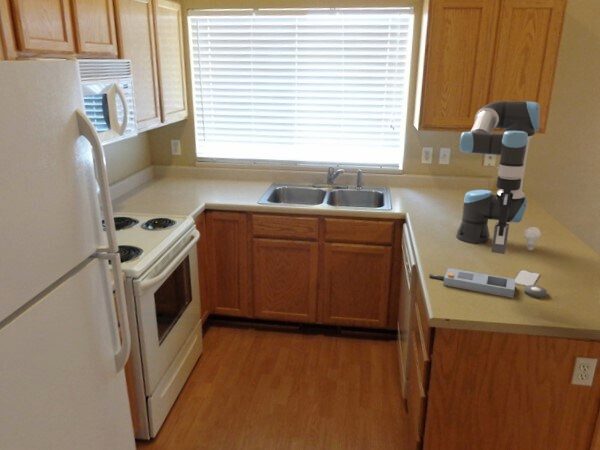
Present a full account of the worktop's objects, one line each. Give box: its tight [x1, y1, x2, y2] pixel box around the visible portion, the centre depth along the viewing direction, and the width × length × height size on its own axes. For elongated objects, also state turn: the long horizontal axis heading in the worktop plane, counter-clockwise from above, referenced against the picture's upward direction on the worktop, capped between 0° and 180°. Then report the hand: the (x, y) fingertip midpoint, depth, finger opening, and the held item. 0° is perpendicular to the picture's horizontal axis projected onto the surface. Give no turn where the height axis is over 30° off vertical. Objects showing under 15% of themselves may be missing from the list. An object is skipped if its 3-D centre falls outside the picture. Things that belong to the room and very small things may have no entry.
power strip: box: [429, 267, 516, 299], centre depth 173 cm, size 10×30×4 cm, turn 64°
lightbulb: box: [524, 226, 542, 251], centre depth 206 cm, size 6×6×11 cm
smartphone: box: [513, 269, 541, 287], centre depth 179 cm, size 7×1×15 cm
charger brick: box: [490, 221, 510, 255], centre depth 165 cm, size 4×5×10 cm
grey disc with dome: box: [524, 285, 548, 299], centre depth 166 cm, size 7×7×2 cm
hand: (500, 241), depth 165 cm, fingers closed on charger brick, 4 cm apart
